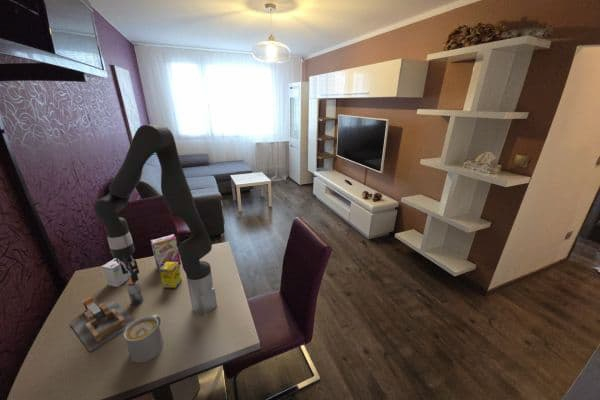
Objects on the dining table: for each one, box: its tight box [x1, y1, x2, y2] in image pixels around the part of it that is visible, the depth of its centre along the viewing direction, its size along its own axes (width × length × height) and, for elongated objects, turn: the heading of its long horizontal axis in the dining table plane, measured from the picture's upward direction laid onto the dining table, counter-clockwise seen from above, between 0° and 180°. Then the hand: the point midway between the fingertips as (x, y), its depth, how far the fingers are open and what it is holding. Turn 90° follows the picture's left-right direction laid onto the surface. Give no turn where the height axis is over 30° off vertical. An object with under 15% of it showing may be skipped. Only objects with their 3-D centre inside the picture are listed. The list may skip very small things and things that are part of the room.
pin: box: [81, 295, 103, 320], centre depth 100 cm, size 11×3×4 cm, turn 56°
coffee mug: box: [123, 314, 164, 364], centre depth 87 cm, size 13×10×10 cm
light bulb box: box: [101, 255, 134, 288], centre depth 119 cm, size 11×7×11 cm, turn 165°
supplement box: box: [159, 262, 182, 290], centre depth 116 cm, size 6×6×11 cm
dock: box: [70, 300, 136, 352], centre depth 96 cm, size 20×15×4 cm
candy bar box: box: [150, 233, 182, 272], centre depth 129 cm, size 11×5×16 cm, turn 130°
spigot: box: [125, 278, 144, 307], centre depth 105 cm, size 4×4×11 cm
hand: (130, 277), depth 103 cm, fingers open, 8 cm apart
